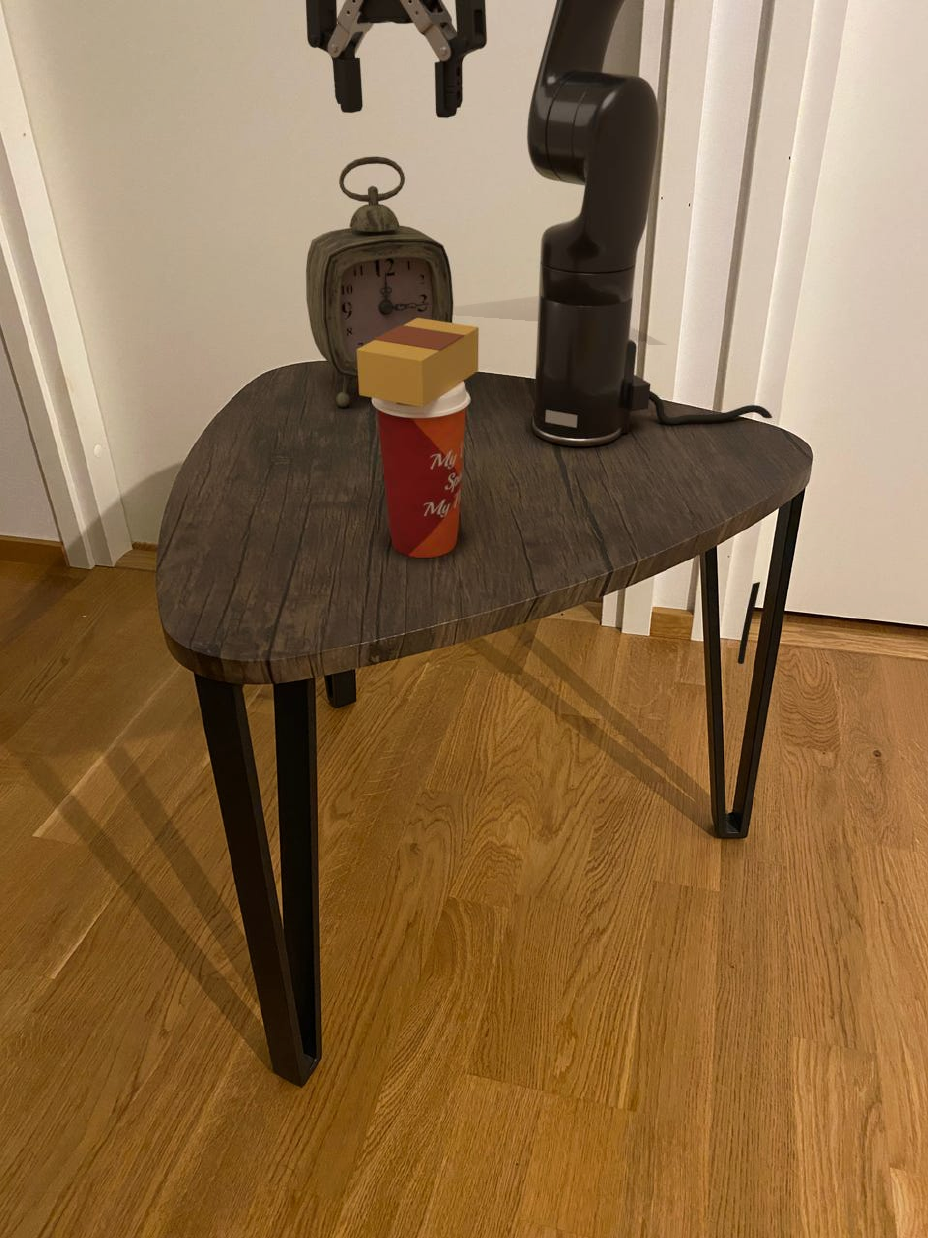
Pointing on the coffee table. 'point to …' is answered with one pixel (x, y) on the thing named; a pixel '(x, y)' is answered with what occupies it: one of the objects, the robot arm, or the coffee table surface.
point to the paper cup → (423, 471)
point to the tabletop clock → (372, 279)
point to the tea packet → (417, 361)
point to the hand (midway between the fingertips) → (398, 113)
